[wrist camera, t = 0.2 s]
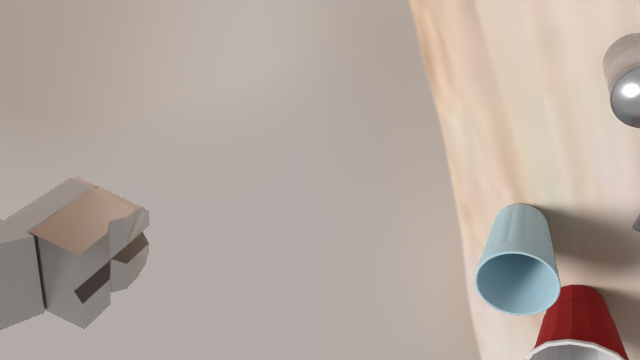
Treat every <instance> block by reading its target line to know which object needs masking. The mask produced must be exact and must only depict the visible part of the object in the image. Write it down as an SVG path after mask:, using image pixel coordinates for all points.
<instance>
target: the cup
mask: <svg viewBox="0 0 640 360" xmlns="http://www.w3.org/2000/svg"><path fill="white" fill-rule="evenodd" d="M475 286H476V289H477V291H478V293H479V295H480V296H481V298H482V299H483V300H484V301H485V302H486V303H487V304H489V305H490V306H491V307H493V308H495V309H497V310H499V311H501V312H504V313H507V314H511V315H519V316H526V315H534V314H538V313H540V312H543V311H545V310H547V309H548V308H550V307H551V306H552V305H553V304H554V303H555V302H556V300H557V299H558V297H559V294H560V289H561V285H560V279H559V274H558V270H557V265H556V261H555V256H554V251H553V246H552V241H551V236H550V232H549V227H548V223H547V220H546V218H545V216H544V215H543V213H542V212H541V211H539V210H538V209H536V208H534V207H533V206H530V205H525V204H514V205H510V206H507V207H506V208H504V209H503V210H501V211H500V212H499V213H498V215H497V217H496V219H495V222H494V224H493V227H492V230H491V232H490V235H489V238H488V241H487V243H486V246H485V249H484V252H483V255H482V257H481V259H480V262H479V265H478V267H477V270H476V273H475Z"/></svg>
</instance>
